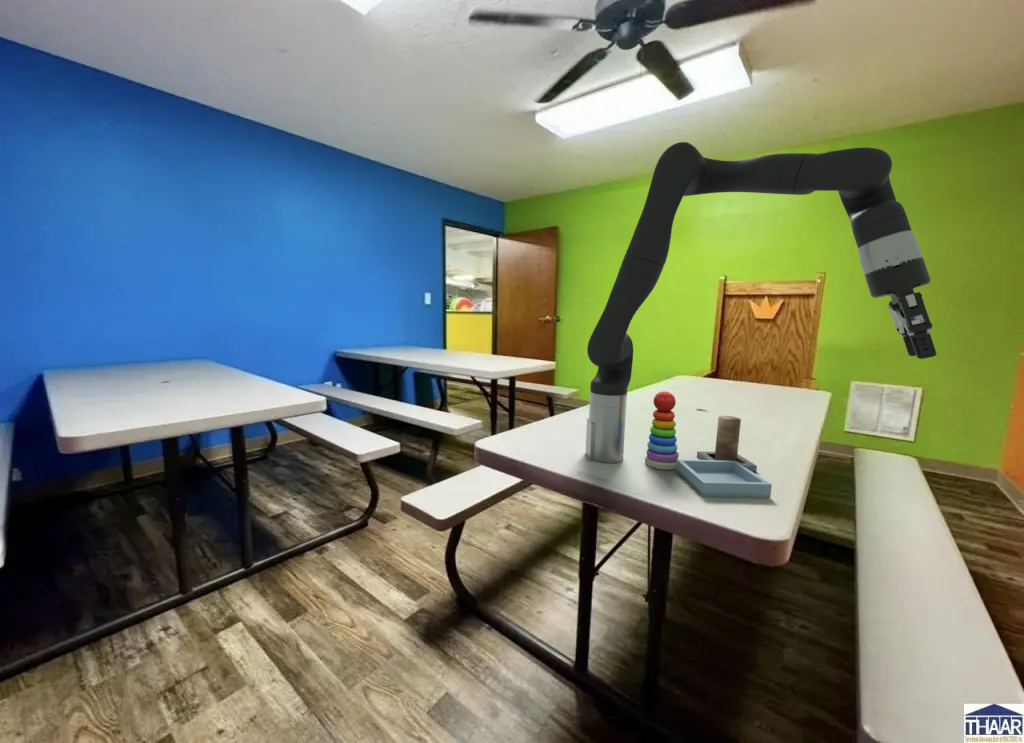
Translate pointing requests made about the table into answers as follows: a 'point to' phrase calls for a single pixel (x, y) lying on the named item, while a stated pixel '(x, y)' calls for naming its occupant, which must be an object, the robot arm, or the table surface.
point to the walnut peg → (727, 438)
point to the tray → (722, 479)
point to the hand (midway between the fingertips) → (922, 356)
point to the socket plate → (740, 460)
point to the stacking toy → (663, 434)
